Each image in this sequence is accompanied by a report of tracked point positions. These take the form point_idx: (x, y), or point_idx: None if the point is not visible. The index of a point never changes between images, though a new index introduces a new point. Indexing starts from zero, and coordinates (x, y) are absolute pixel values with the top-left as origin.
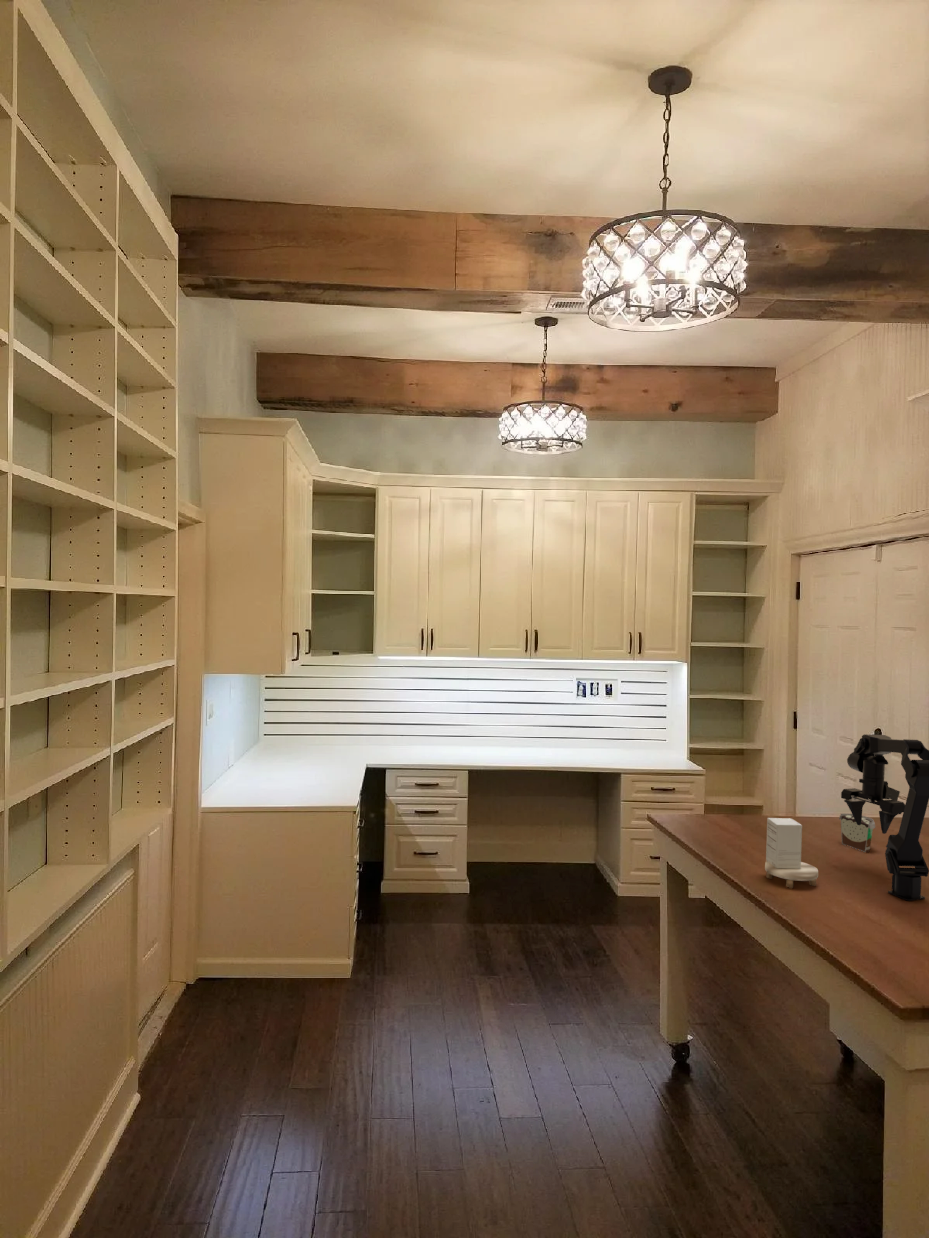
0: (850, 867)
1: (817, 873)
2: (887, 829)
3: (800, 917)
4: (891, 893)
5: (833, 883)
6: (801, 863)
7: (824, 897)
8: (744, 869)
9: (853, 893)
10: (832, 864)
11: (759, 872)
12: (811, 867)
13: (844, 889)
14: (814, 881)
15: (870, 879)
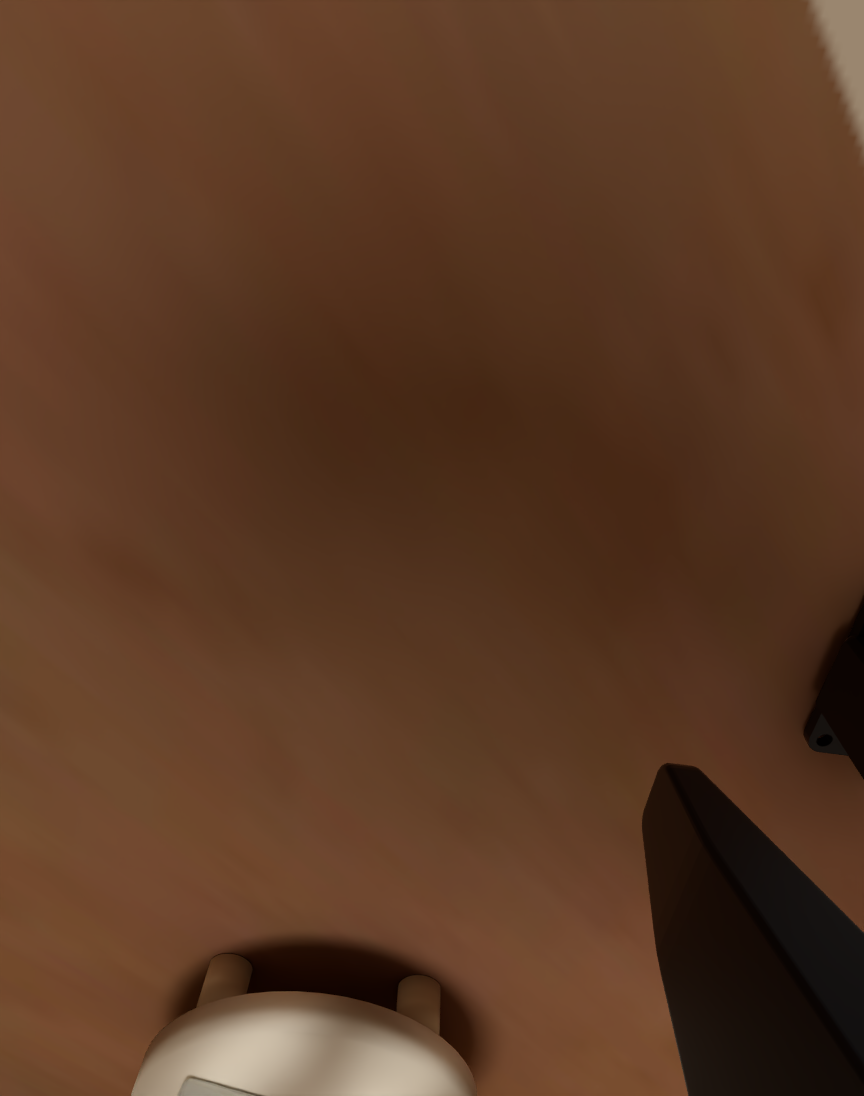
0: (189, 450)
1: (461, 1090)
2: (760, 846)
3: None
4: (841, 749)
5: (459, 882)
6: (258, 1053)
7: (602, 1066)
8: (68, 1083)
9: None
10: (68, 537)
11: (135, 1060)
12: (358, 1061)
13: (575, 908)
14: (438, 1021)
15: (525, 581)
